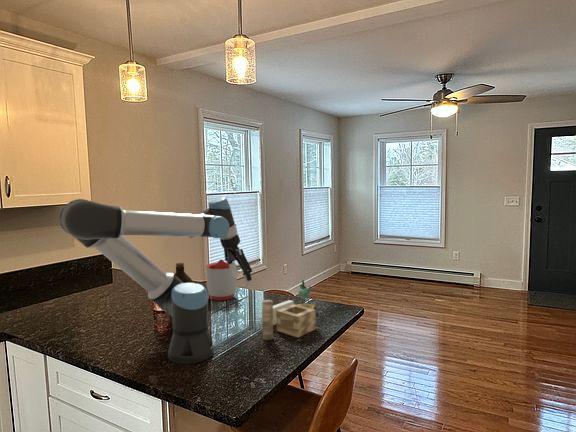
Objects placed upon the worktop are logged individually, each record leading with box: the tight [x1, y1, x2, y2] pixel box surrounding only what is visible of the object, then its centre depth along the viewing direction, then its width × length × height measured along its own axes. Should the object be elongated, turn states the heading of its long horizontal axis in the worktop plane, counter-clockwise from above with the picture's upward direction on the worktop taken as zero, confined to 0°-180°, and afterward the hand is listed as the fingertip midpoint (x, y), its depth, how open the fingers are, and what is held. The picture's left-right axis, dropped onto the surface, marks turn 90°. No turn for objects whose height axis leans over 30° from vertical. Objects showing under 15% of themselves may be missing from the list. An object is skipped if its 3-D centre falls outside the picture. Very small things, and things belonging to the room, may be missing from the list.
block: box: [276, 303, 317, 338], centre depth 153 cm, size 11×11×8 cm
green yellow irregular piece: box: [293, 279, 316, 309], centre depth 178 cm, size 10×18×15 cm, turn 138°
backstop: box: [273, 299, 295, 326], centre depth 163 cm, size 16×2×7 cm, turn 139°
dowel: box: [261, 299, 274, 341], centre depth 145 cm, size 4×4×14 cm
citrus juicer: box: [205, 259, 240, 302], centre depth 197 cm, size 16×17×20 cm
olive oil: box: [169, 262, 194, 326], centre depth 162 cm, size 11×11×25 cm
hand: (243, 281), depth 161 cm, fingers open, 13 cm apart
